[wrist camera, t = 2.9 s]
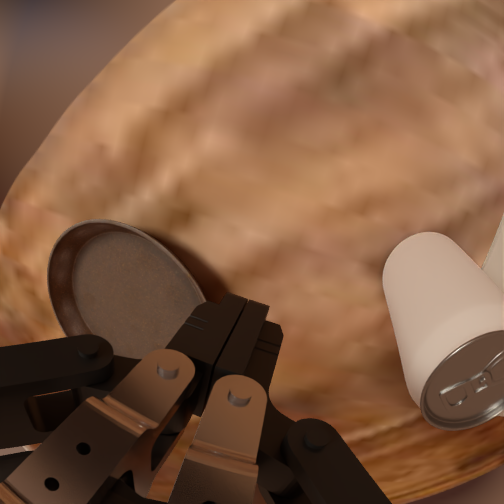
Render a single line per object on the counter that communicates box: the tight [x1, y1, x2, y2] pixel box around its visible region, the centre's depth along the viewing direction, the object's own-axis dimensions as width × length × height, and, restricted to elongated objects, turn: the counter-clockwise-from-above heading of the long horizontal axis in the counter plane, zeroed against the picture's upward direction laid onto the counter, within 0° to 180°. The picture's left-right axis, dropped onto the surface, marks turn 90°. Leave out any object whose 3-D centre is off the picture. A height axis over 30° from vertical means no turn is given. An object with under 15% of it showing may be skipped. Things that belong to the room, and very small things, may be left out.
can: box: [383, 232, 504, 431], centre depth 15 cm, size 6×6×12 cm
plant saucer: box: [47, 219, 207, 359], centre depth 27 cm, size 18×18×3 cm
